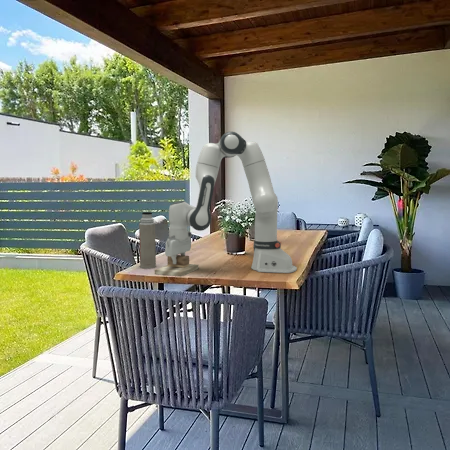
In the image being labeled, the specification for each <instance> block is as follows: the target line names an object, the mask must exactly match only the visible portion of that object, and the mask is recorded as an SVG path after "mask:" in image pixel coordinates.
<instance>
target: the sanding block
mask: <svg viewBox="0 0 450 450" xmlns="http://www.w3.org/2000/svg"><path fill="white" fill-rule="evenodd" d="M176 260H177V264H173V260H172V258H171V257H170V256H167V265H168V266H169V267H180V268H185V267H187V266H189V264H190V255H186V254H185V255H181V254H178V255H176Z"/></svg>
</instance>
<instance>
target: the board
mask: <svg viewBox="0 0 450 450" xmlns="http://www.w3.org/2000/svg"><path fill="white" fill-rule="evenodd" d="M199 268H200V266H199V264H193V263H189V266H187V267H185V268H180V267H169V266H168V264H166V265H164V266H161V267H159V268H157V269H154V275H161V276H170V277H171V276H172V277H183V276H185V275H188V274H190V273H192V272H195V271H197V270H199Z"/></svg>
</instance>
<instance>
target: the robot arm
mask: <svg viewBox="0 0 450 450" xmlns="http://www.w3.org/2000/svg"><path fill="white" fill-rule="evenodd" d="M236 156H237V157H238V158H239V159H240V161H241V163H242V166H243V171H244V173H245V177H246V179H247V183H248V187H249V191H250V196H251V199H252V203H253V206H254V208H255V216H254V217H255V218H254V219H255V220H254V240H253V244H252V245H253V246H252V247H253V259H252V262H251V263H252V264H251V270H252V271H253V270H254V271H256V272H258V273H278V274H279V273H280V274H283V273H284V274H291V273H294V272H296V271H297V269H298V267H297V266H295V265H293V260H292V257H291V256H290V255H289V254H288V252H286V251H285V250H283V249H282V248H281V246H282V241H278V212H279V211H278V205H279V203H278V202H279V200H278V199H279V198H278V196H277V194H276V193H275V190H274V187H273V183H272V179H271V176H270V172H269V168H268V166H267V162H266V160H265V156H264V153H263V152H262V150H261V147H260V146H259V144H258V142H255V141H247V140H245V139H244V138H243V137H242V136H241V135H240V134H239V133H237V132H235V131H227V132H225V133H224V134H222V136H221V137H220V139H219V141H218V142H217V143H213V142H208V143H205V144H204V145H203V146H202V149H201V150H200V153H199V156H198V158H197V163H196V167H195V179H196V180H197V183H198V186H199V191H198V196H197V203H196V206H193V205H191V204H189V203H187V201H184V200H179V201H175V202H172V203H171V204H170V205H169V209H168V222H169V226H168V227H169V228H168V238H167V240H166V242H165V247H164V248H165V250H164V254H165V257H168V256H170V257H171V258H172V260H173V264H177V260H176V255H185V256H186V252H190V251H191V249H192V238H191V237H192V236H193V235H192V232H191V231H189V230H188V227H192V229H194V230H196V231H199V232H201V231H202V232H203V231H205V230H206V229H208V228H209V227H210V225H211V222H212V215H211V204H212V198H213V195H214V194H213V193H214V188H215V185H216V181H217V177H218V174H219V169H220V166H221V162H222V159H226V158H227V159H229V158H234V157H236Z"/></svg>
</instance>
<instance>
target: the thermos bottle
mask: <svg viewBox="0 0 450 450" xmlns="http://www.w3.org/2000/svg"><path fill="white" fill-rule="evenodd" d="M141 214H142V215H141V218H140V219H139V221H140V223H139V224H138V226H139V228H138V229H139V230H138V233H139V267H141V269H153V268H156V267H157V259H156V258H157V257H156V256H157V255H156V254H157V253H156V248H157V247H156V246H157V245H156V223H155V220H154V218H153V216H152V214H153V212H152V211H151V212H150V211H145V212H142V213H141Z"/></svg>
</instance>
